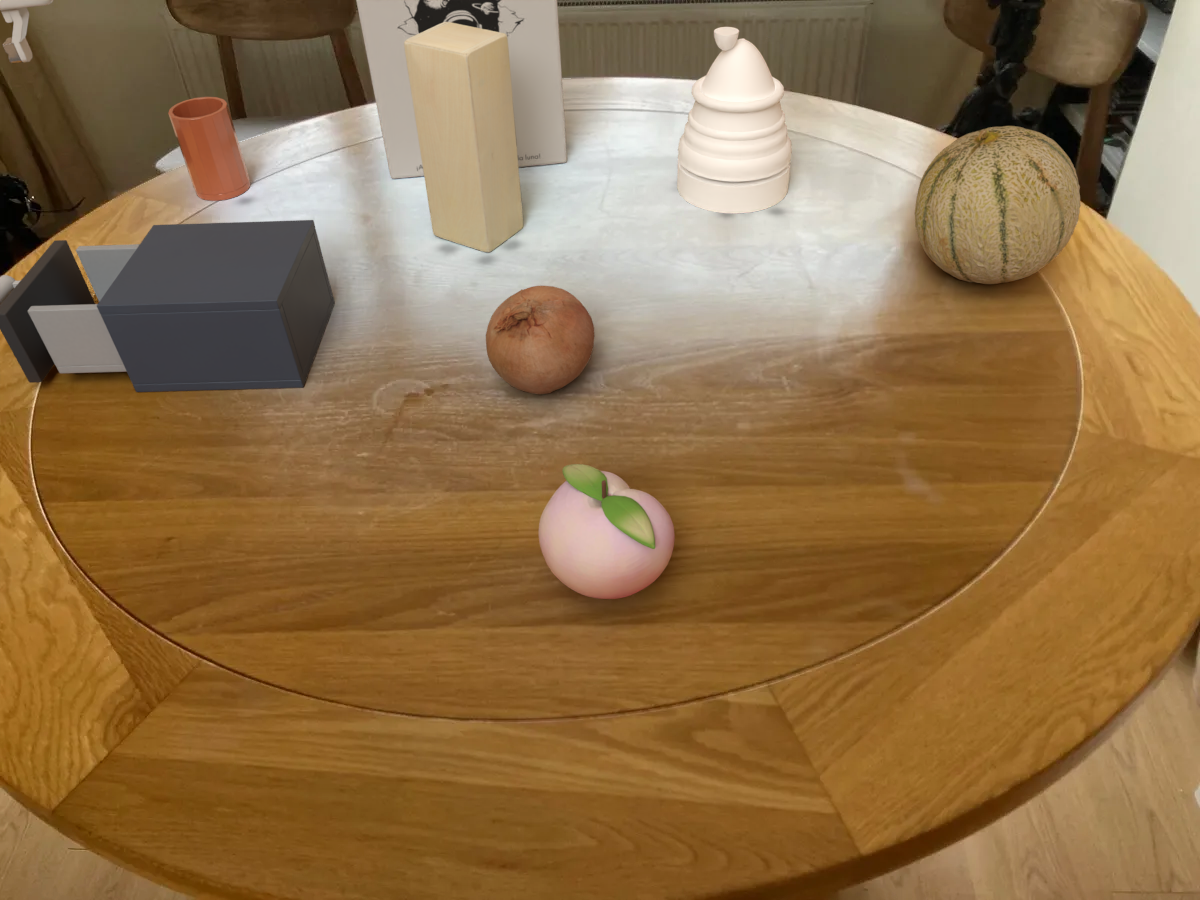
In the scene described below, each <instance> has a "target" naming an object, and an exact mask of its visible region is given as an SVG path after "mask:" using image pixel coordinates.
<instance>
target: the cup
mask: <svg viewBox="0 0 1200 900" xmlns="http://www.w3.org/2000/svg"><path fill="white" fill-rule="evenodd" d="M167 114H168V118H169V120H170V123H171V126H172V129H173V131H174V135H175V137H176V140H177V143H178V146H179V149H180V152H181V155H182V157H183V161H184V162H185V163H184V164H185V166H186V169H187V172H188V175H189V178H190V181H191V183H192V187H193V188H194V191H195V194H196V196H197V197H198V198H200V199H201V200H205V201H209V202H210V201H211V202H217V201H227V200H230V199H233V198H236V197H238V196H241V195H243V194H244V193H246V192H247V191H249V189H250V187H251V180H250V175H249V171H248V168H247V165H246V162H245V158H244V155H243V152H242V149H241V145H240V142H239V139H238V135H237V133H236V132H237V131H236V128H235V126H234V121H233V119H232V115H231V111H230V108H229V104H228V102H227V101H226V100H225V99H224V98H220V97H217V96H199V97H193V98H190V99H185V100H183V101H180V102H177V103H176V104H174V105H173V106H171V107H170V108H169V110H168V112H167Z"/></svg>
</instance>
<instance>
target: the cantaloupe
mask: <svg viewBox="0 0 1200 900" xmlns="http://www.w3.org/2000/svg"><path fill="white" fill-rule="evenodd" d="M1080 188H1081V186H1080V184H1079V178H1078V174H1077V170H1076V168H1075V167H1074V164H1073V162H1072V160H1071V158H1070V157H1069V155H1068V154H1067V152H1065V151H1064V149H1063V148H1062V147H1061V146H1060V145H1059V144H1058V143H1057V142H1056V141H1055V140H1054V139H1053V138H1050V137H1049V136H1047V135H1045V134H1043V133H1042V132H1039V131H1036V130H1032V129H1029V128H1024V127H1021V126H1015V125H1003V126H992V127H991V126H990V127H987V128H983V129H979V130H976V131H972V132H969V133H966V134H964V135H962V136H960V137H958V138H957V139H955V140H954V141H953V142H951V143H950V144H949V145H947V146H945V147H944V148H943V149H942V150H941V151H940V152H938V153H937V155H936V156H935V157H934V158H933V159H932V161H931V162H930V163H929V165H928V166H927V168H926V170H925V171H924V173H923V174H922V177H921V179H920V182H919V186H918V191H917V194H916V199H915V205H914V206H915V208H914V224H915V230H916V233H917V238H918V240H919V243H920V244H921V247H922V249H923V251H924V253H925V254H926V255H927V257H928V258H929V260H931V262H932V263H934V264H935V266H937V267H938V268H940V269H941V270H942V271H943V272H945V273H947V274H948V275H950V276H952V277H954V278H956V279H958V280H960V281H965V282H968V283H977V284H982V285H998V284H1002V283H1009V282H1015V281H1018V280H1022V279H1025V278H1027V277H1030V276H1032V275H1034V274H1036V273H1037V272H1039V271H1040V270H1042V269H1043V268H1044V267H1046V266H1047V265H1048V264H1050V263H1051V262H1052V261H1053V260H1054V259H1056V258H1057V257H1058V256H1059V255H1060V253H1061V252H1063V250H1064V248H1065V247H1066V246H1067V245H1068V243H1069V242H1070V240H1071V239H1072V236H1073V234H1074V231H1075V229H1076V227H1077V225H1078V224H1079V223H1078V222H1079V220H1080V219H1079V218H1080V217H1079V216H1080V213H1081V211H1080V209H1081V195H1080V190H1081V189H1080Z"/></svg>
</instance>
